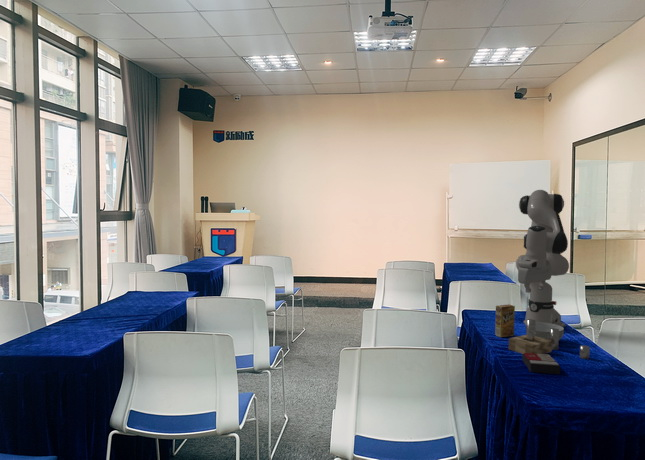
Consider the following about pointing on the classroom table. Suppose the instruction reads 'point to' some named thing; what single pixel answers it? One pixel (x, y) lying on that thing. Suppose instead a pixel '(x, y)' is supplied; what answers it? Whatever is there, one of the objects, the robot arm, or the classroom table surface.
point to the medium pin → (554, 338)
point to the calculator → (541, 363)
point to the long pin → (530, 330)
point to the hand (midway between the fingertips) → (534, 291)
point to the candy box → (504, 320)
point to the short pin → (584, 352)
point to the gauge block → (530, 345)
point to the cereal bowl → (546, 330)
